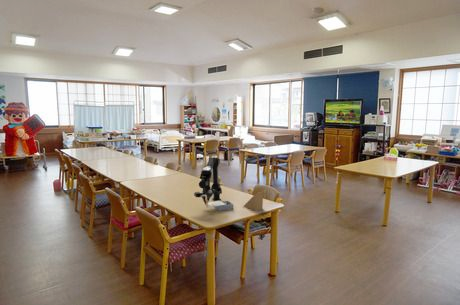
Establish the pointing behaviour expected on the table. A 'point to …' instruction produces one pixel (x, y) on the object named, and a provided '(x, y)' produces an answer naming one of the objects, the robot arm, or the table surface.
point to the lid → (213, 203)
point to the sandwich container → (255, 202)
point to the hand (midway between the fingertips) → (206, 203)
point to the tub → (224, 206)
